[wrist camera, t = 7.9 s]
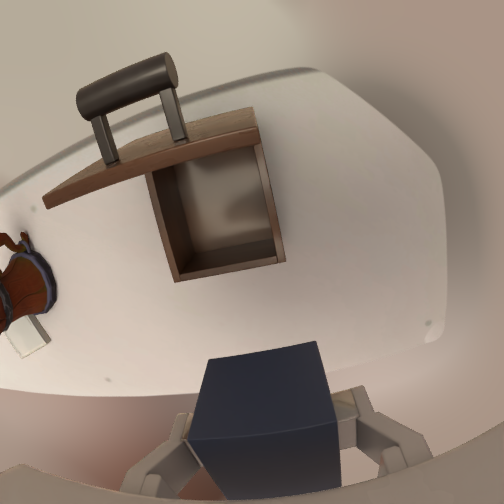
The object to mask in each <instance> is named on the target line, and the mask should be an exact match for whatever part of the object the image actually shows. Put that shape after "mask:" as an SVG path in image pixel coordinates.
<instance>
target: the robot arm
mask: <svg viewBox="0 0 504 504" xmlns="http://www.w3.org/2000/svg"><path fill="white" fill-rule="evenodd" d="M331 397H332V401H333V405H334V409H335V413H336V417H337V421H338V434H339V447H340V450H342V449H347V448H351V447H355V446H357V448H358V449H360V450H361V451H362V452H363V453H365V454H366V455H367V456H368V457H370V458H371V459H372V460H373V461H375V462H376V463H377V464H379V465H380V466H379V472H378V478H375V479H371V480H368V481H365V482H360V483H357V484H353V485H348V486H344V487H340V488H335V489H330V490H325V491H320V492H315V493H309V494H302V495H295V496H288V497H279V498H269V499H256V500H235V501H202V500H183V499H180V498H179V497H178V495H177V494H178V493H179V492H180V491H181V489H182V488H183V487H184V486H185V485H186V484H187V483H188V482H189V481H190V479H191V478H192V477H193V476H194V475H195V474H196V472H197V471H198V470H199V469H200V468H201V467H202V466H203V464H202V463H201V461H200V460H199V458H198V457H197V455H196V453H195V452H194V450H193V449H192V447H191V445H190V444H189V442H188V441H187V437H188V433H189V430H190V426H191V422H192V418H193V415H194V413H179V414H178V415H177V416H176V419H175V421H174V425H173V427H172V430H171V433H170V437H169V440H168V441H164V442H163V443H162V444H161V445H159V446H158V447H157V448H156V449H154V450H153V451H152V452H151V453H149V454H148V455H147V456H146V457H144V458H143V459H142V460H141V461H139V462H138V463H137V464H135V465H134V466H133V467H131V468H130V469H129V470H128V471H127V472H126V475H125V477H124V480H123V483H122V485H121V487H120V490H119V491H114V490H109V489H104V488H100V487H96V486H92V485H88V484H84V483H80V482H77V481H73V480H69V479H66V478H63V477H60V476H57V475H54V474H51V473H47V472H45V471H42V470H39V469H36V468H34V467H32V466H29V465H26V464H19V465H16V466H14V467H12V468H9V469H7V470H6V471H3V472H1V473H0V504H504V422H502V423H500V424H498V425H497V426H495V427H494V428H492V429H490V430H488V431H486V432H485V433H483V434H481V435H479V436H478V437H476V438H474V439H472V440H470V441H468V442H466V443H464V444H462V445H460V446H458V447H456V448H454V449H452V450H450V451H448V452H445V453H443V454H441V455H438V456H436V457H433V455H432V453H431V451H430V449H429V447H428V445H427V443H426V441H425V439H424V437H423V435H421V434H420V433H418V432H416V431H414V430H412V429H410V428H408V427H406V426H404V425H402V424H400V423H398V422H396V421H394V420H392V419H390V418H389V417H387V416H385V415H383V414H381V413H380V412H376V413H375V412H374V410H373V407H372V405H371V402H370V400H369V397H368V395H367V392H366V390H365V388H364V386H362V385H361V386H358V387H354V388H350V389H347V390H343V391H339V392H335V393H331ZM203 467H204V466H203Z"/></svg>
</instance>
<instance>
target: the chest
mask: <svg viewBox="0 0 504 504" xmlns="http://www.w3.org/2000/svg"><path fill="white" fill-rule="evenodd" d="M145 178H146V182H147V186H148V190H149V194H150V198H151V202H152V206H153V210H154V214H155V217H156V221H157V225H158V229H159V232H160V236H161V239H162V243H163V246H164V250H165V253H166V257H167V260H168V263H169V267H170V270H171V273H172V277H173V280H174V283H176V282H181V281H187V280H192V279H198V278H203V277H208V276H214V275H219V274H224V273H230V272H235V271H240V270H245V269H250V268H256V267H261V266H266V265H271V264H276V263H281V262H286V258H285V252H284V247H283V242H282V237H281V232H280V227H279V223H278V218H277V213H276V208H275V203H274V199H273V194H272V189H271V185H270V180H269V175H268V171H267V166H266V162H265V157H264V153H263V148H262V144H261V143H260V144H257V145H252V146H247V147H243V148H238V149H234V150H230V151H226V152H221V153H217V154H213V155H209V156H206V157H202V158H198V159H194V160H190V161H187V162H183V163H180V164H176V165H173V166H169V167H166V168H162V169H159V170H156V171H153V172H149V173H146V174H145Z"/></svg>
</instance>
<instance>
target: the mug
mask: <svg viewBox="0 0 504 504" xmlns="http://www.w3.org/2000/svg"><path fill="white" fill-rule="evenodd" d="M20 236H21V238H22V240H21V241H19V243H18V245H15V243H14V242H13V240H12V239H11V238H10V237H9V236H8V235H7V233H0V247H1V246H2V245H4V244H5V246H6V247H7V248H9V249H10V250H11V251H14V252H17V253H15V254H13V255H12V257H11V259H10V262H9V264H8V266H7V268H6V269H5V271H4V272H3V273H2V271H1V269H0V334H1V333H2V332H5V331H7V330H8V328H9V326H10V324H11V323H12V322H14V321H16V320H17V319H19V318H21V317H23V316H25V315H31V314H33V315H38V314H44V313H47V312H48V311H49V310H50V308H51V307H52V306H53V304H54V303H55V301H56V288H55V281H54V278H53V275H52V272H51V269H50V267H49V265H48V264H47V263H46V262H45V261H44V259H43V258H42V257H41V256H40V254H39V253H36V252H34V251H31V250H30V248H29V239H28V235H27V234H26V233H24V232H21V234H20Z"/></svg>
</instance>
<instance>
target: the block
mask: <svg viewBox="0 0 504 504" xmlns="http://www.w3.org/2000/svg"><path fill="white" fill-rule="evenodd" d="M187 441H188V442H189V444H190V445H191V447H192V449H193V450H194V452H195V453H196V455H197V457H198V458H199V460H200V461H201V463H202V464H203V466H204V467H205V469H206V470H207V472H208V473H209V475H210V476H211V477H212V479H213V480H214V482H215V483H216V485H217V486H218V487H219V489H220V490H221V492H222V493H223V494H224V496H225V497H226V498H227V500H251V499H265V498H276V497H285V496H293V495H300V494H307V493H313V492H318V491H324V490H329V489H334V488H338V487H341V486H342V484H341V464H340V447H339V434H338V421H337V417H336V413H335V409H334V405H333V401H332V397H331V394H330V390H329V386H328V382H327V379H326V375H325V371H324V367H323V364H322V360H321V357H320V353H319V349H318V346H317V342H316V341H312V342H307V343H302V344H297V345H292V346H287V347H282V348H277V349H272V350H266V351H260V352H255V353H249V354H243V355H236V356H230V357H223V358H216V359H209V360H208V363H207V367H206V371H205V374H204V378H203V381H202V385H201V389H200V392H199V396H198V400H197V403H196V407H195V411H194V415H193V418H192V422H191V426H190V430H189V433H188V437H187Z"/></svg>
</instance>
